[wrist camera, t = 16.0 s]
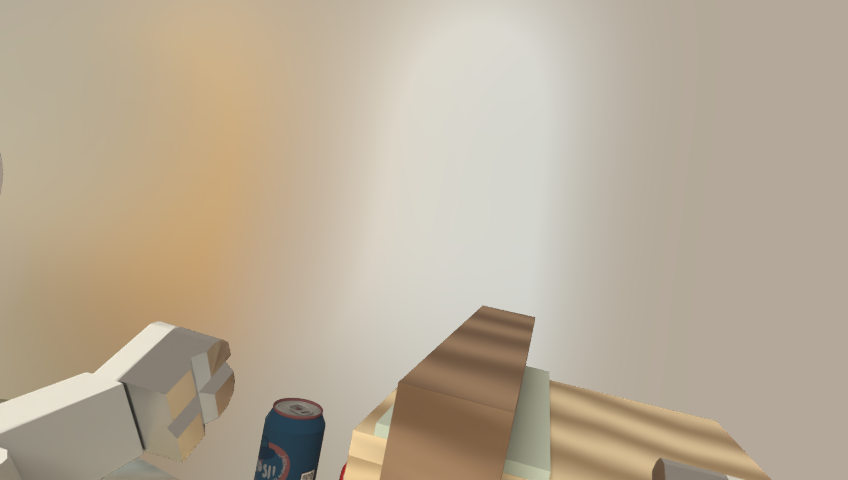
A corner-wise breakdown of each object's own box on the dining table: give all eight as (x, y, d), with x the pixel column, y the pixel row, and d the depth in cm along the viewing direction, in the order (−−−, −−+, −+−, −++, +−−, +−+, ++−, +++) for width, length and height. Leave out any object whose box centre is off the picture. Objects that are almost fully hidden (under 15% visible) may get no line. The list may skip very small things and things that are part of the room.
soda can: (237, 502, 65) (255, 401, 64) (283, 485, 70) (300, 392, 70) (276, 530, 61) (296, 423, 60) (321, 510, 66) (340, 412, 66)
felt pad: (547, 485, 24) (550, 471, 24) (373, 435, 26) (376, 422, 26) (547, 379, 43) (549, 371, 43) (446, 354, 44) (447, 347, 44)
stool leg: (490, 530, 18) (514, 413, 18) (376, 495, 19) (398, 382, 19) (526, 362, 44) (536, 313, 44) (476, 350, 45) (486, 302, 45)
